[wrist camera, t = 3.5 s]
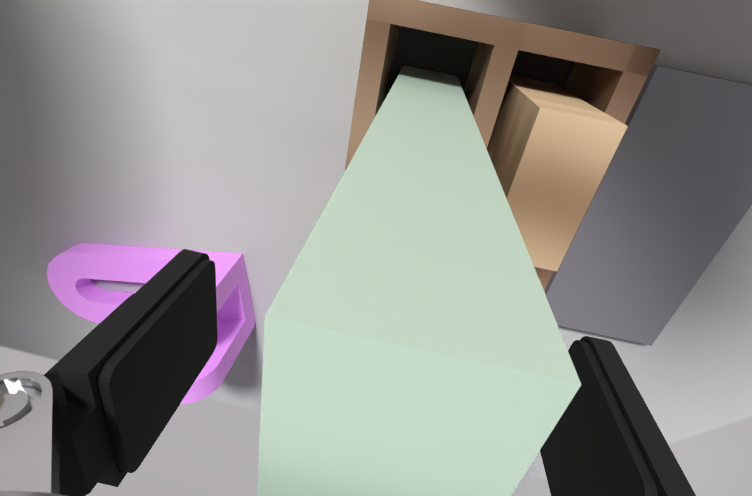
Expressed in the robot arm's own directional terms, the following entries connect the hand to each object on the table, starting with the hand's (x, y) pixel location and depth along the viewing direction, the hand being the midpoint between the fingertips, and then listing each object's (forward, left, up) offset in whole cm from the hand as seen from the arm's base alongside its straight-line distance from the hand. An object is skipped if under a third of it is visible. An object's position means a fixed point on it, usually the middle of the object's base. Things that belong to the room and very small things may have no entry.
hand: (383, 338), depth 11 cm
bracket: (+11, -15, -13) cm, 22 cm away
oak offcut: (-3, +4, -12) cm, 14 cm away
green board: (0, 0, -12) cm, 12 cm away
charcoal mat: (0, +13, -12) cm, 18 cm away
